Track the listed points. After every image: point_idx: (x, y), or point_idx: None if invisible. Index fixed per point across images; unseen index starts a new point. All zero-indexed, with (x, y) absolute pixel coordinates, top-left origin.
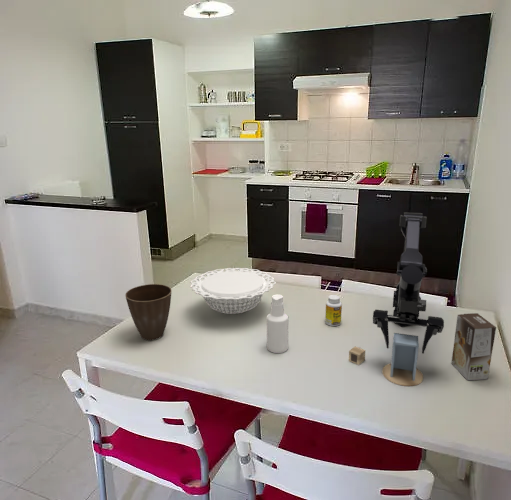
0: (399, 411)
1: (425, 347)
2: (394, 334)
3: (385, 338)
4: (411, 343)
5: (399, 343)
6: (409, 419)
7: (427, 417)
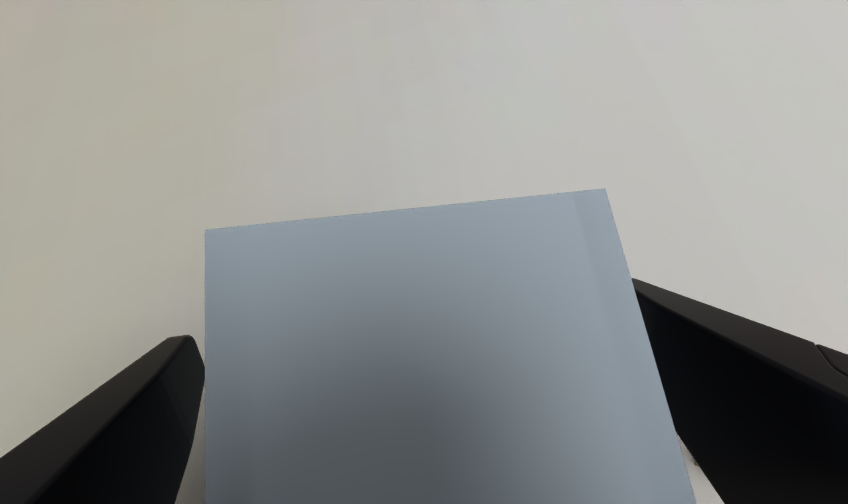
0: (373, 42)
1: (114, 378)
2: (677, 483)
3: (743, 319)
4: (329, 258)
5: (511, 201)
6: (323, 8)
7: (240, 45)
